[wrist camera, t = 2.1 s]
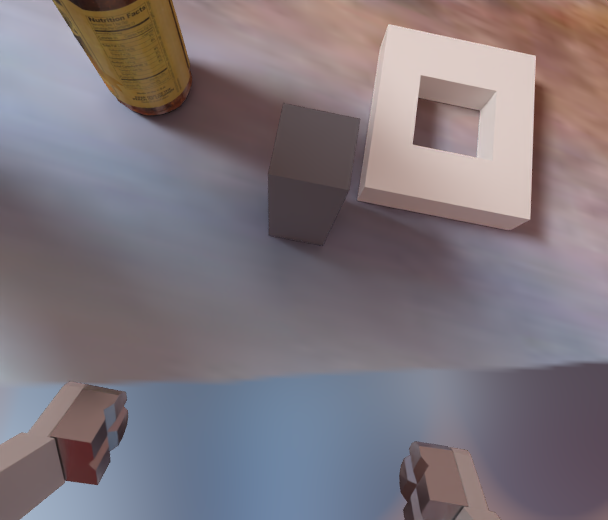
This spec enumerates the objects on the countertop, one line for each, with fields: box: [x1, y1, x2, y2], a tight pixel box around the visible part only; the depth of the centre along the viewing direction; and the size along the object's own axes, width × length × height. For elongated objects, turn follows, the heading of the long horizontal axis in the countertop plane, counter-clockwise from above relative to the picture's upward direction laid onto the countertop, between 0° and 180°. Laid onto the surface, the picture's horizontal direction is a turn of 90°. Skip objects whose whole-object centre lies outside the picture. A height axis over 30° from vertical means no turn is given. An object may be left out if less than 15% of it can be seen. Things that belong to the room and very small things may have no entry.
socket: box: [357, 24, 536, 230], centre depth 31 cm, size 12×14×2 cm
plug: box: [268, 103, 360, 246], centre depth 25 cm, size 4×4×10 cm
